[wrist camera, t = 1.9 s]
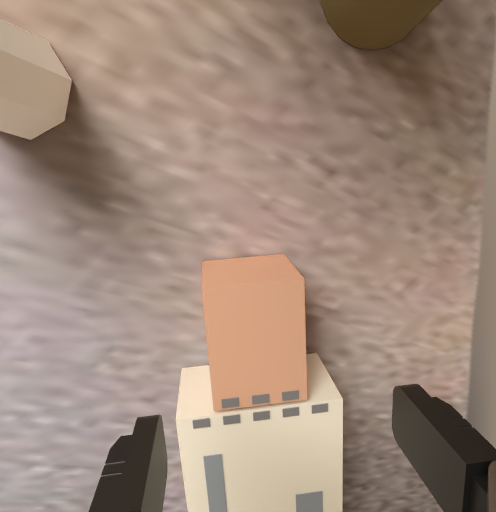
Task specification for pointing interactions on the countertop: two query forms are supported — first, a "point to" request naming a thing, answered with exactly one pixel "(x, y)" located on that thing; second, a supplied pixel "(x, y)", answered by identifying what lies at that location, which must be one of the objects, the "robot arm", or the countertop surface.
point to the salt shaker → (30, 83)
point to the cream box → (262, 448)
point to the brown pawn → (375, 20)
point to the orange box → (254, 331)
